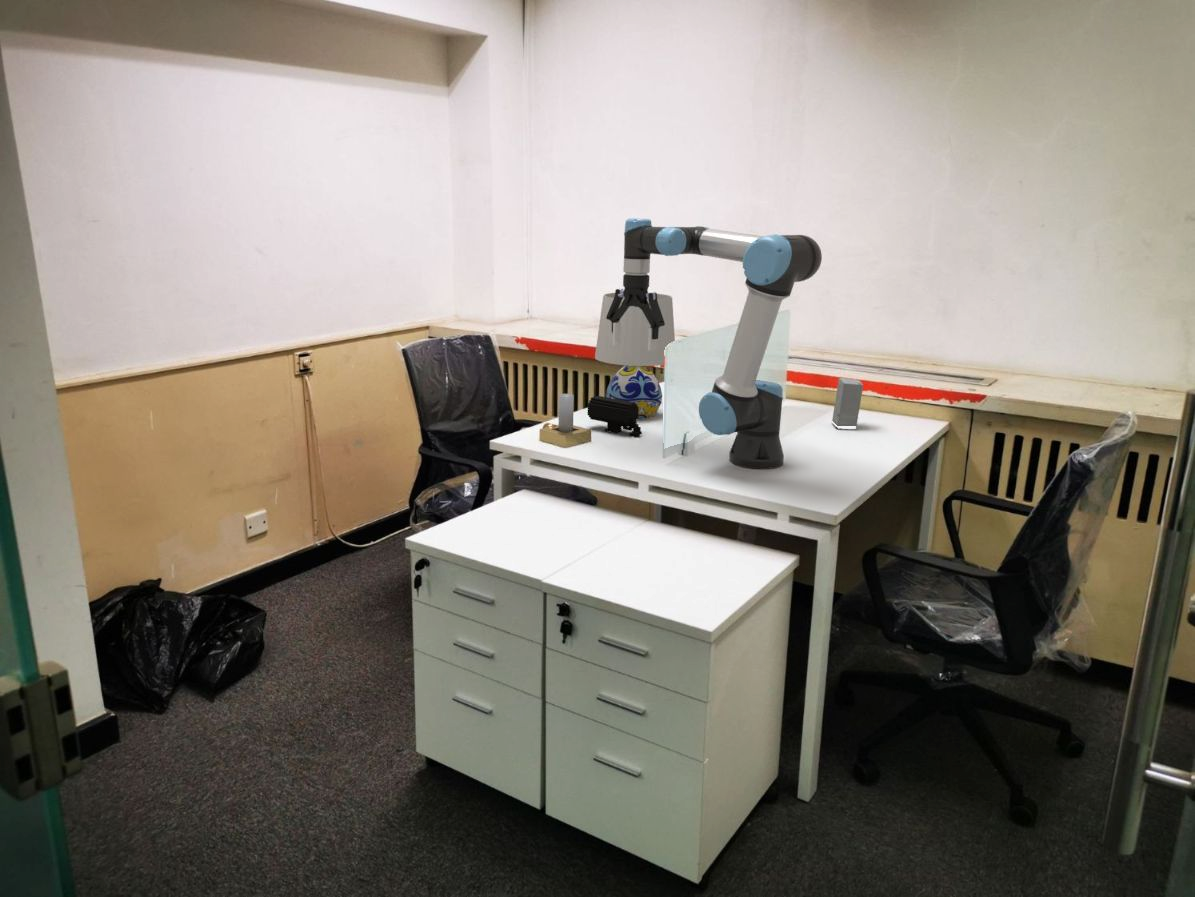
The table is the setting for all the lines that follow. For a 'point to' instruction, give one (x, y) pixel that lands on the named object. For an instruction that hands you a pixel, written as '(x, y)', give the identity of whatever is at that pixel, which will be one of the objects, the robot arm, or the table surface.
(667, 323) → the table lamp
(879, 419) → the table surface
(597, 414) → the security camera
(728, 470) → the table surface
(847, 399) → the skincare box
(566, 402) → the grey rounded cylinder
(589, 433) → the gold square frame
